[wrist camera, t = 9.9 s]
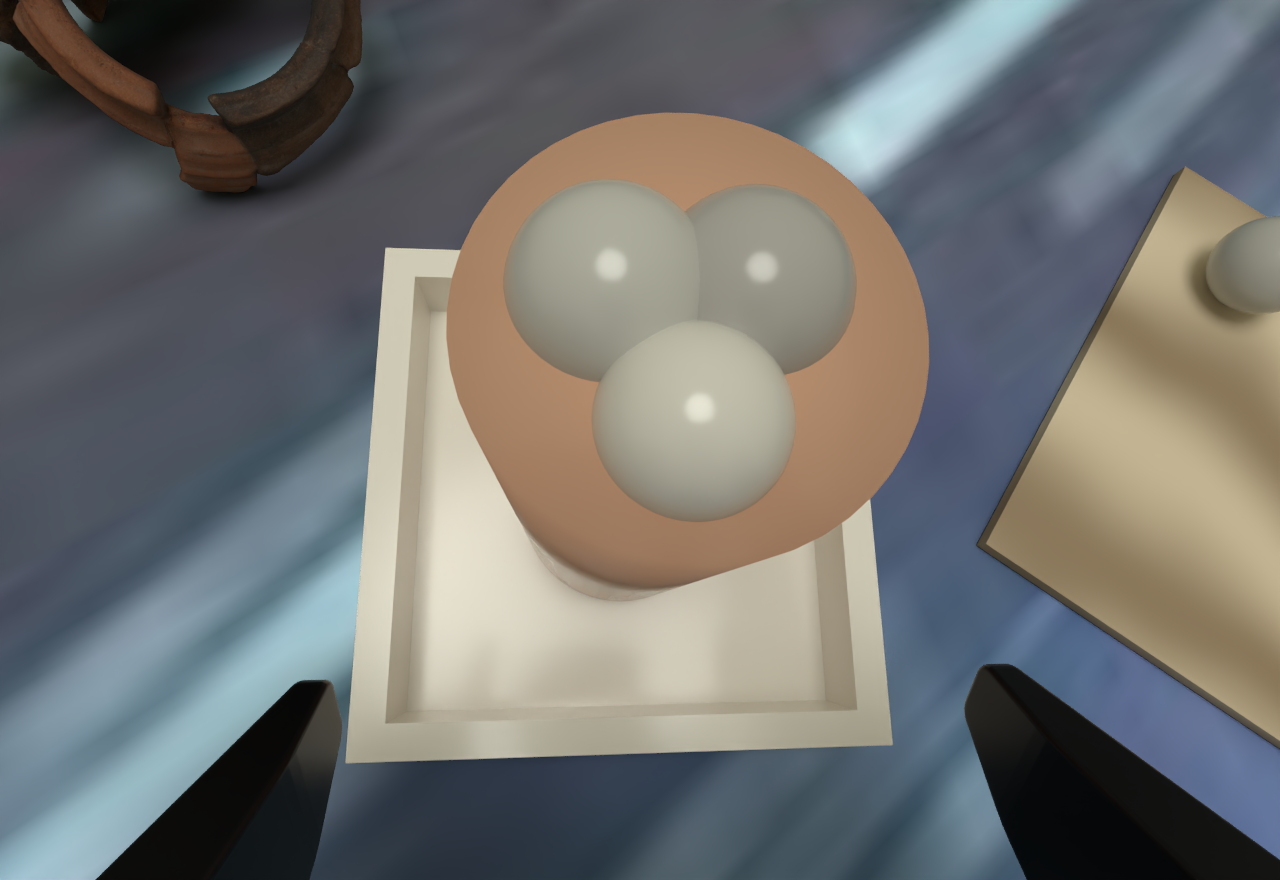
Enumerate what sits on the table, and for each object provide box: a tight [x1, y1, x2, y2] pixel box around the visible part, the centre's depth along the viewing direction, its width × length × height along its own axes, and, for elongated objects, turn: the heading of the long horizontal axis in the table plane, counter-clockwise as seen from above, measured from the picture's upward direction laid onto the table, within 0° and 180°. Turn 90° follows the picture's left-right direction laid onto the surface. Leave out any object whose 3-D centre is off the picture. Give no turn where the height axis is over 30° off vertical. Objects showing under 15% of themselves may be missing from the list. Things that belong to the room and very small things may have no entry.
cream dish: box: [345, 248, 893, 763], centre depth 19 cm, size 13×13×3 cm
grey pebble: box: [1206, 216, 1280, 314], centre depth 23 cm, size 3×3×3 cm
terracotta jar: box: [446, 113, 929, 601], centre depth 13 cm, size 5×5×14 cm
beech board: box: [977, 167, 1280, 749], centre depth 23 cm, size 16×12×1 cm
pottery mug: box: [0, 0, 362, 193], centre depth 20 cm, size 12×10×8 cm
